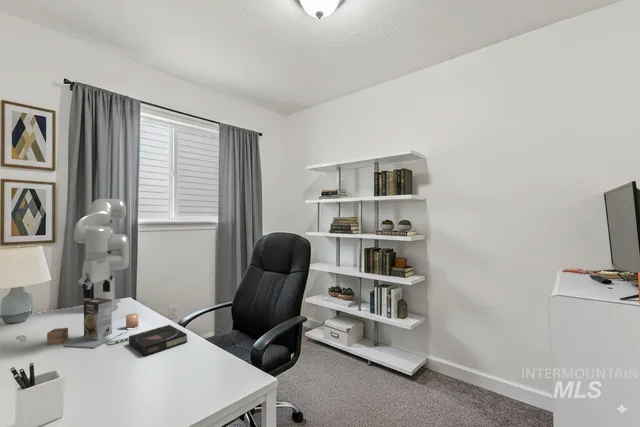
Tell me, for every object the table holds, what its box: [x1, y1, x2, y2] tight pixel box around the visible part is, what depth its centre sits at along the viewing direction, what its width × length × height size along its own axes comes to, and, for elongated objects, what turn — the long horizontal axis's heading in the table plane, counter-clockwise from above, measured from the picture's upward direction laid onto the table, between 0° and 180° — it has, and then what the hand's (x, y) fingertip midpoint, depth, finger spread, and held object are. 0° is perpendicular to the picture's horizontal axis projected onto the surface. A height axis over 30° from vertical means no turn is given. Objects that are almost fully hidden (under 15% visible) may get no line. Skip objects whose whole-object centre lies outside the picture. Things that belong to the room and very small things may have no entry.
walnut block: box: [46, 327, 69, 346], centre depth 128 cm, size 5×5×5 cm
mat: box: [63, 335, 107, 349], centre depth 131 cm, size 18×14×1 cm
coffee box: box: [83, 298, 113, 341], centre depth 131 cm, size 9×6×16 cm
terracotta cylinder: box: [125, 313, 139, 329], centre depth 143 cm, size 5×5×6 cm
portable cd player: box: [128, 324, 188, 357], centre depth 126 cm, size 16×17×4 cm
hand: (97, 294), depth 132 cm, fingers open, 9 cm apart
